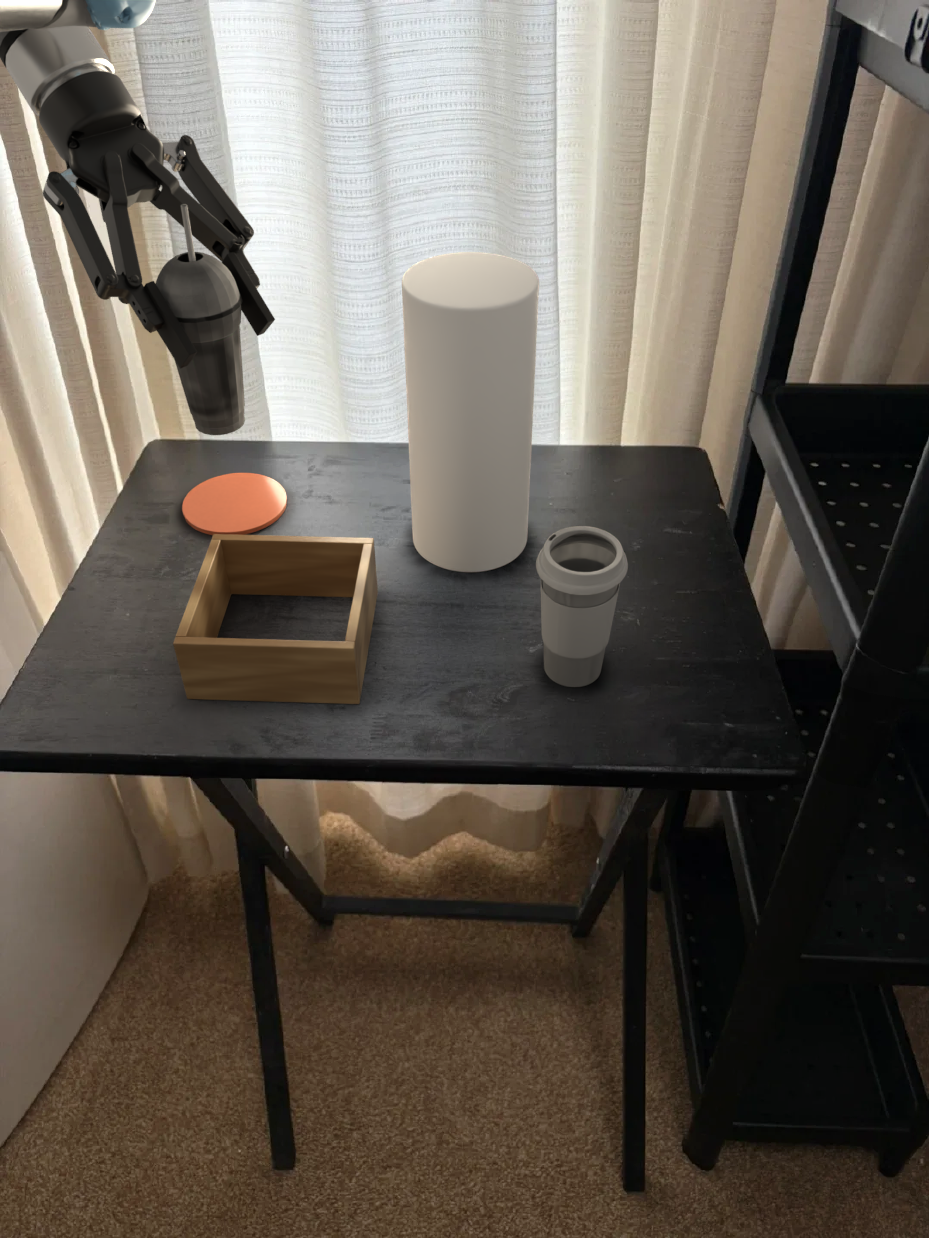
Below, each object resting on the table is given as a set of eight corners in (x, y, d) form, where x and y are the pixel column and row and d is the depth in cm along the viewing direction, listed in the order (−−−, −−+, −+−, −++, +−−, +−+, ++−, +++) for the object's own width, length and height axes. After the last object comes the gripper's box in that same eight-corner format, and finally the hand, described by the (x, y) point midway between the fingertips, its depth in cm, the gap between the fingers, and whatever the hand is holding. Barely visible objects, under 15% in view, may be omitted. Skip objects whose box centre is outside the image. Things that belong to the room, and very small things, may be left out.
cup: (560, 627, 88) (569, 511, 80) (629, 658, 85) (646, 541, 77) (513, 675, 84) (518, 558, 76) (585, 710, 81) (598, 592, 73)
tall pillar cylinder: (402, 566, 94) (388, 303, 78) (424, 498, 102) (415, 247, 86) (519, 578, 93) (531, 313, 77) (533, 508, 101) (545, 255, 84)
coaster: (224, 550, 96) (223, 546, 96) (162, 506, 101) (161, 502, 101) (308, 504, 102) (307, 500, 101) (245, 465, 107) (244, 461, 106)
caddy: (359, 704, 82) (353, 648, 78) (186, 699, 82) (172, 643, 78) (377, 592, 92) (373, 537, 88) (224, 588, 92) (213, 533, 88)
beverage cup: (246, 395, 99) (212, 178, 86) (271, 431, 94) (238, 208, 81) (170, 412, 97) (123, 192, 83) (191, 451, 92) (144, 224, 78)
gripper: (169, 99, 94) (304, 323, 96) (-46, 153, 83) (113, 405, 85) (193, 43, 88) (337, 285, 90) (-35, 94, 77) (136, 368, 79)
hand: (228, 343), depth 88 cm, fingers closed on beverage cup, 7 cm apart
